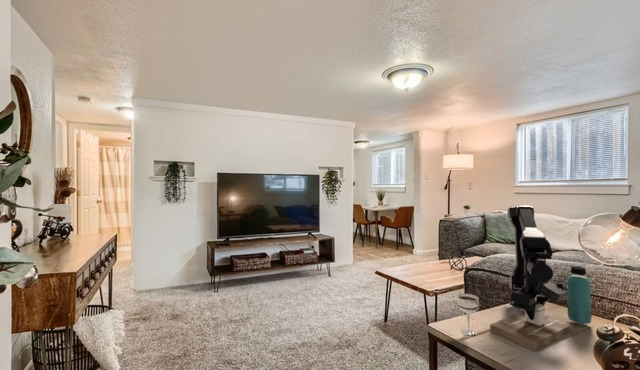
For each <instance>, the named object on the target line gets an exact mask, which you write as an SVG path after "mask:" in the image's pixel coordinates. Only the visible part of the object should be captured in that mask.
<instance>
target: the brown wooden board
mask: <svg viewBox="0 0 640 370" xmlns="http://www.w3.org/2000/svg"><path fill="white" fill-rule="evenodd" d="M489 325H490V326H489V327H490V328H489V330H490V332H489V333H492V334H495V335H497V336H499V337H502V338H503V339H506V340H508V341H511V342H513V343H514V344H517V345H519V346H521V347H524V348H526V349H527V350H528V349H529V350H531V351H533V352H536V351H539V350H540V349H542V348H544V347H546V346H548V345H550V344H552V343H554V342H556V341H558V340H559V339H562V338H564V337H565V336H567V335H570V334H571V333H573V332H574V323H572V322H568V321H567V320H563V319H560V318H557V317H555V316H551V315H547V314H545V323H544V324H542V325H540V326H539V325H536V324H533V323H531V322H528V321H525V310H523V311H521V312H518V313H515V314H513V315H510V316H508V317H505V318H503V319H500V320H498V321H495V322H493V323H490V324H489Z"/></svg>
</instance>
